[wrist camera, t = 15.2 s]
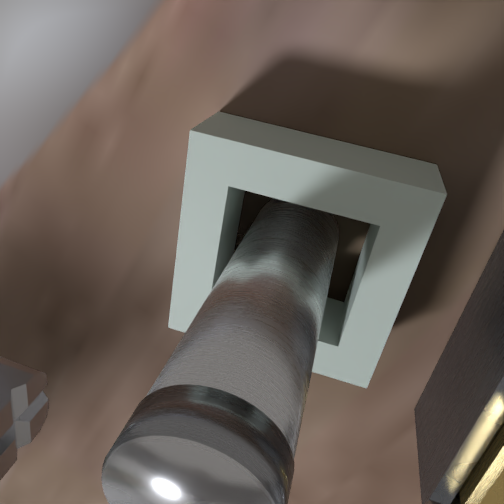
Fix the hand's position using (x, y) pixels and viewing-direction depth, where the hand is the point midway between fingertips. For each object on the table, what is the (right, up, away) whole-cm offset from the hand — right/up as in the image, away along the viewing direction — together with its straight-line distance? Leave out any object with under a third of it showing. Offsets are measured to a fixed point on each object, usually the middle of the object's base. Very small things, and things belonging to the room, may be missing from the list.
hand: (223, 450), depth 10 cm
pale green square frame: (+2, +5, +9) cm, 11 cm away
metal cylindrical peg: (+2, +5, +9) cm, 11 cm away
